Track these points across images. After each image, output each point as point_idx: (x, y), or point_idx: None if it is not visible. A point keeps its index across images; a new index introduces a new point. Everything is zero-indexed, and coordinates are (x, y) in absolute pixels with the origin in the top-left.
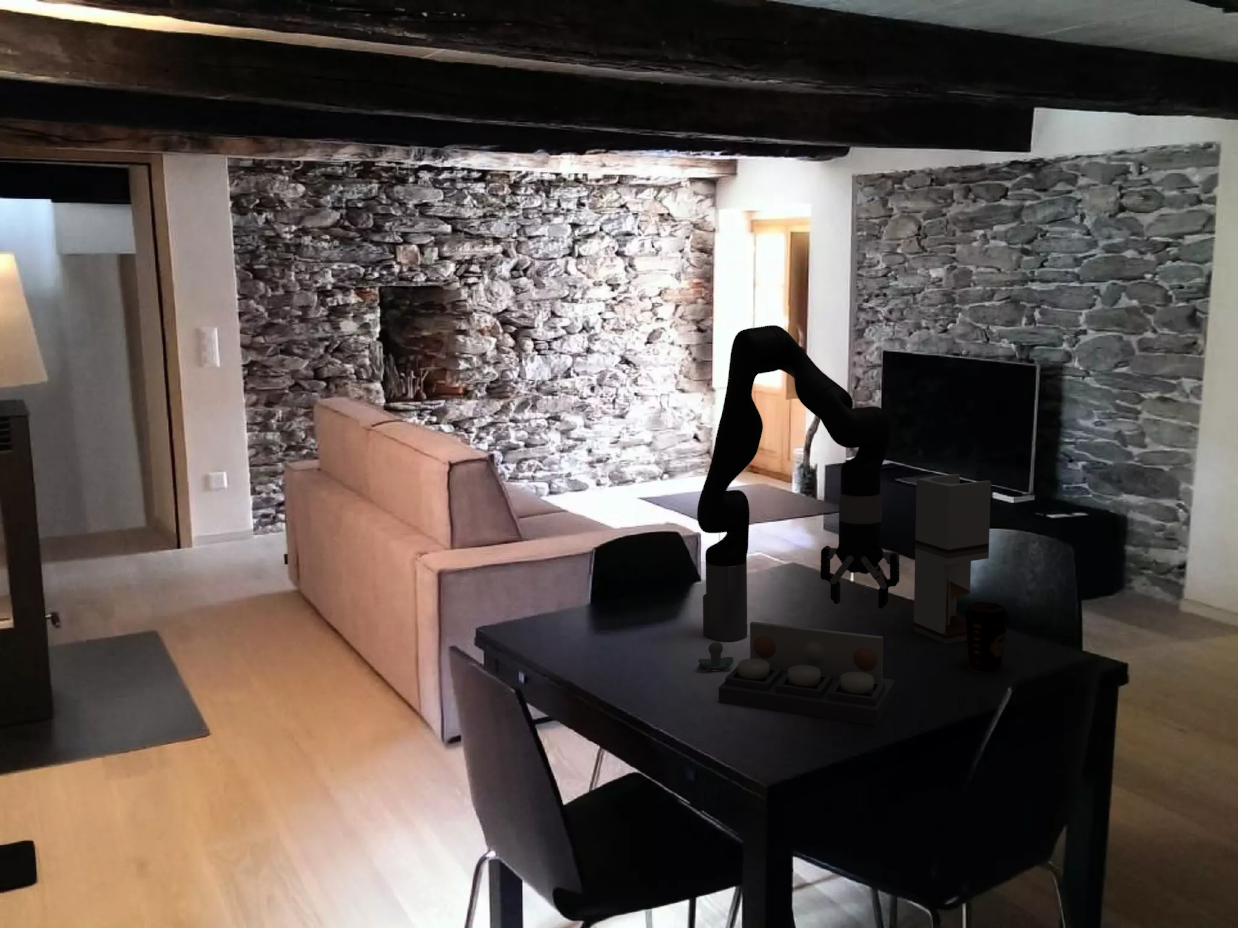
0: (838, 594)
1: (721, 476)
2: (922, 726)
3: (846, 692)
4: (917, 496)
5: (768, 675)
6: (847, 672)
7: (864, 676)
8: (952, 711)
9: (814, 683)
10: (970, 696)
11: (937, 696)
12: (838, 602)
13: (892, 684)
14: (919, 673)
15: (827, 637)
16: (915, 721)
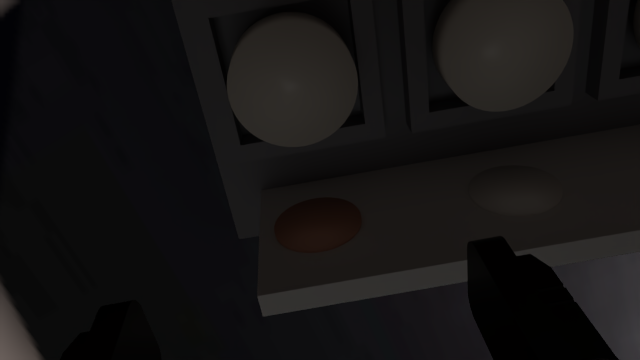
0: (494, 311)
1: None
2: (48, 32)
3: None
4: None
5: (634, 13)
6: (346, 118)
7: (272, 112)
8: (45, 186)
9: (444, 12)
10: (68, 296)
11: (138, 257)
12: (469, 265)
13: (230, 205)
14: (250, 357)
15: None
16: (89, 60)
